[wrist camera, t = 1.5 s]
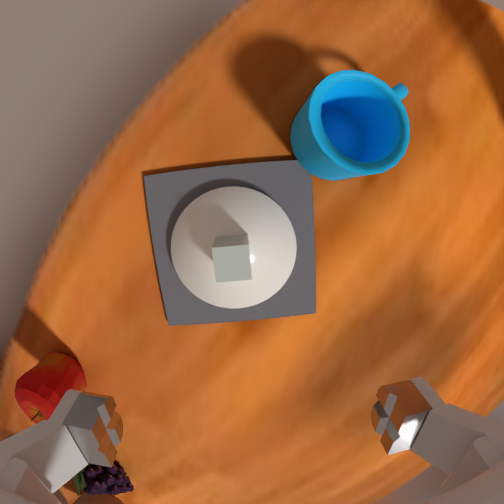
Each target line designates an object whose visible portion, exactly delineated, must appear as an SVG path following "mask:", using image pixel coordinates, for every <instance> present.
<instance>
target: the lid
mask: <svg viewBox="0 0 504 504" xmlns="http://www.w3.org/2000/svg"><path fill="white" fill-rule="evenodd" d="M296 251H297V244H296V236H295V233H294V229H293V226H292V224H291V222H290V220H289V218H288V216H287V215H286V213H285V212H284V211H283V210H282V208H281V207H280V206H279V205H278V204H277V203H276V202H275V201H274V200H272V199H271V198H269V197H268V196H267V195H265V194H263V193H261V192H259V191H256V190H254V189H250V188H246V187H239V186H227V187H221V188H217V189H214V190H211V191H208V192H206V193H204V194H202V195H201V196H199V197H198V198H196V199H195V200H194V201H192V202H191V203H190V204H189V205H188V206H187V207H186V208H185V209H184V211H183V212H182V213H181V215H180V216H179V218H178V220H177V222H176V224H175V227H174V230H173V233H172V239H171V257H172V261H173V265H174V268H175V270H176V273H177V274H178V276H179V278H180V280H181V281H182V283H183V284H184V285H185V286H186V287H187V289H188V290H189V291H190V292H192V293H193V294H194V295H195V296H197V297H198V298H200V299H201V300H203V301H205V302H207V303H209V304H212V305H215V306H218V307H223V308H245V307H250V306H253V305H256V304H259V303H261V302H263V301H265V300H267V299H269V298H270V297H271V296H273V295H274V294H275V293H276V292H277V291H279V290H280V289H281V287H282V286H283V285H284V284H285V283H286V281H287V279H288V278H289V276H290V274H291V272H292V270H293V267H294V263H295V259H296Z"/></svg>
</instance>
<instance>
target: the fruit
mask: <svg viewBox="0 0 504 504" xmlns="http://www.w3.org/2000/svg"><path fill="white" fill-rule="evenodd" d="M80 477H81V478H80ZM72 479H73V481H74V486H75V487H76V490H77V493H78V496H79V495H80V494H79V493H80V492H81V489H82V490H84V492H85V493H87V494H88V495H96V494H100V495H101V494H104V493H106V494H113V495H117V494H119V493H126V492H127V491H130V492H132V491H133V490H134V489H133V485H132V484H131V482H130V479H129V477H128V476H126V475H124V470H122V469H121V468H120V467H117V466H116V465H115V464H114V463H113V466H112V467H106V466H101V465H96V464H91V463H88V465H87V466H86V467H84V468H83V469H82V470H81V471H80V472H78V473H77V474H76V475H75V476H74V477H72Z"/></svg>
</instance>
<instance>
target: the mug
mask: <svg viewBox="0 0 504 504" xmlns="http://www.w3.org/2000/svg"><path fill="white" fill-rule="evenodd" d="M407 94H408V89H407V87H406V86H405V85H404V84H402V83H399V84H397V85H395V86H394V87H392V88H390V87H389V86H388V85H387V84H386V83H385V82H384V81H382V80H380V79H379V78H377V77H375V76H374V75H372V74H369V73H365V72H361V71H357V70H346V71H339V72H336V73H334V74H331V75H329V76H327V77H326V78H325V79H324V80H323V81H321V82H320V83H319V84H318V85H317V86H316V88H315V89H314V90H313V92H312V93H311V95H310V96H309V98H308V99H307V101H306V102H305V104H304V105H303V106H302V108H301V109H300V111H299V112H298V114H297V115H296V117H295V119H294V122H293V124H292V126H291V135H290V141H291V145H292V150H293V153H294V155H295V156H296V158H297V160H298V161H299V163H300V164H301V165H302V166H303V167H304V168H305V169H306V170H307V171H308V172H309V173H311V174H313V175H315V176H317V177H319V178H321V179H327V180H333V181H335V180H341V179H347V178H352V177H358V176H364V175H370V174H377V173H383V172H385V171H387V170H388V169H390V168H392V167H394V166H395V165H396V164H397V163H398V162H399V161H400V159H401V158H402V157H403V156H404V154H405V152H406V149H407V146H408V143H409V140H410V123H409V120H408V116H407V112H406V109H405V107H404V105H403V104H402V102H401V100H402V99H403V98H404V97H405V96H406V95H407Z"/></svg>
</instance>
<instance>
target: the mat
mask: <svg viewBox="0 0 504 504" xmlns="http://www.w3.org/2000/svg"><path fill="white" fill-rule="evenodd" d="M144 183H145V192H146V200H147V208H148V215H149V222H150V229H151V235H152V242H153V248H154V254H155V259H156V265H157V271H158V276H159V281H160V286H161V291H162V296H163V301H164V306H165V311H166V315H167V320H168V324H169V326H172V325H192V324H208V323H222V322H235V321H247V320H258V319H268V318H278V317H287V316H296V315H305V314H313V313H316V274H315V237H314V213H313V194H312V178H311V173H309V172H308V171H307V170H306V169H305V168H304V167H303V166H302V165H301V164H300V163H299V161H298V160H286V161H270V162H257V163H245V164H234V165H224V166H215V167H206V168H197V169H189V170H182V171H174V172H167V173H161V174H154V175H148V176H144ZM227 186H239V187H246V188H250V189H254V190H256V191H259V192H261V193H263V194H265V195H267V196H268V197H269V198H271V199H272V200H274V201H275V202H276V203H277V204H278V205H279V206H280V207H281V208H282V210H283V211H284V212H285V213H286V215H287V216H288V218H289V220H290V222H291V224H292V226H293V229H294V233H295V236H296V244H297V251H296V259H295V263H294V267H293V270H292V272H291V274H290V276H289V278H288V279H287V281H286V283H285V284H284V285H283V286H282V287H281V289H280V290H279V291H277V292H276V293H275V294H274V295H273V296H271V297H270V298H269V299H267V300H265V301H263V302H261V303H259V304H256V305H253V306H250V307H245V308H223V307H218V306H215V305H212V304H209V303H207V302H205V301H203V300H201V299H200V298H198V297H197V296H195V295H194V294H193V293H192V292H190V291H189V290H188V289H187V287H186V286H185V285H184V284H183V283H182V281H181V280H180V278H179V276H178V274H177V273H176V270H175V268H174V265H173V261H172V257H171V239H172V233H173V230H174V227H175V224H176V222H177V220H178V218H179V216H180V215H181V213H182V212H183V211H184V209H185V208H186V207H187V206H188V205H189V204H190V203H191V202H192V201H194V200H195V199H196V198H198V197H199V196H201V195H202V194H204V193H206V192H208V191H211V190H214V189H217V188H221V187H227Z"/></svg>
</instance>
